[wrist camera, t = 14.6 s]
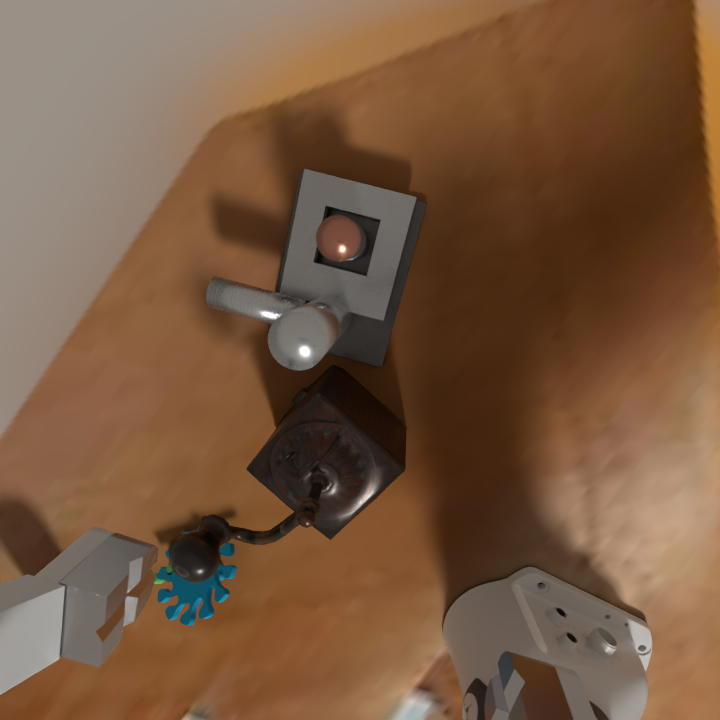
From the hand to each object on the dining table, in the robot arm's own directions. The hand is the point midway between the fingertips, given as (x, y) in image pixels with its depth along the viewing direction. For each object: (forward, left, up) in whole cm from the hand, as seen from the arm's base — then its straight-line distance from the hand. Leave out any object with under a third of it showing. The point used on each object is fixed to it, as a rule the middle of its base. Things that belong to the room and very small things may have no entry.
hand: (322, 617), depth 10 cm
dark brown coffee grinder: (+4, +13, -34) cm, 37 cm away
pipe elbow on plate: (+8, -5, -34) cm, 35 cm away
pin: (+6, -8, -33) cm, 35 cm away
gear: (+14, +31, -34) cm, 49 cm away
